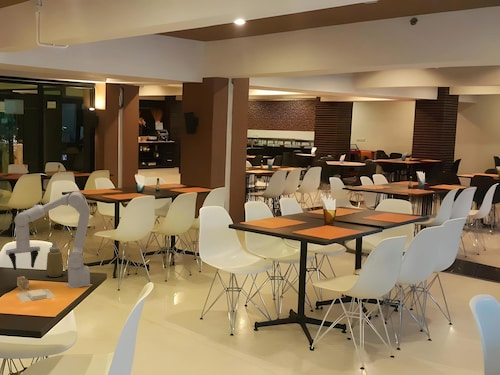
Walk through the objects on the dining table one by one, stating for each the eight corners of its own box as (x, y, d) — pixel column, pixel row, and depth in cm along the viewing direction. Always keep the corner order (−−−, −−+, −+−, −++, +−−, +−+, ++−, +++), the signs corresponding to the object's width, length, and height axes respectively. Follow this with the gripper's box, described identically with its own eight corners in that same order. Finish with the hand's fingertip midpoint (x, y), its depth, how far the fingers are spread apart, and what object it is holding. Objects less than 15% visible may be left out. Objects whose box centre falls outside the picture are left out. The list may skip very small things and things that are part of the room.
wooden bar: (24, 285, 262) (23, 276, 261) (29, 291, 254) (29, 281, 253) (17, 286, 260) (16, 277, 260) (22, 292, 252) (22, 282, 251)
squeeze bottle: (66, 274, 282) (65, 239, 280) (59, 278, 274) (58, 242, 272) (51, 273, 283) (50, 238, 281) (43, 277, 275) (42, 241, 273)
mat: (48, 289, 255) (47, 288, 255) (56, 297, 244) (56, 296, 244) (15, 294, 247) (15, 293, 247) (22, 303, 236) (22, 302, 236)
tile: (41, 289, 249) (46, 294, 241) (41, 293, 249) (46, 298, 242) (27, 291, 245) (32, 296, 238) (27, 295, 246) (32, 300, 238)
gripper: (37, 236, 262) (38, 264, 264) (3, 239, 254) (5, 268, 256) (40, 238, 256) (41, 267, 258) (7, 242, 248) (8, 271, 250)
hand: (23, 268), depth 256 cm, fingers open, 7 cm apart
